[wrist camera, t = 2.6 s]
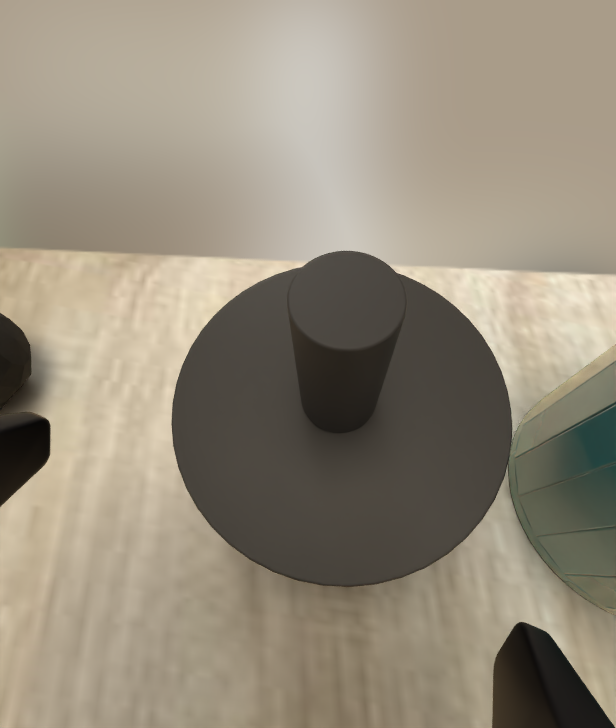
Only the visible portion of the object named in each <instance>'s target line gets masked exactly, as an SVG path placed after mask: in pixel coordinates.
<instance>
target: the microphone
mask: <svg viewBox="0 0 616 728" xmlns="http://www.w3.org/2000/svg"><path fill="white" fill-rule="evenodd" d="M30 375H31V351H30V344H29V342H28V340H27V338H26V337H25V335H24V333H23V331H22V330H21V329H20V328H19V327H18V326H17V325H16V324H14V323H13V322H12V321H11V320H10V319H9V318H7V317H6V316H4V315H2V314H1V313H0V410H1V409H2V408H3V407H4V405H5V404H6V403H7V402H8V401H9V399H10V398H11V397H12V396H13V394H14V393H15V392H16V391H17V390H18V389H19V388H20V387H21V386H22V385H23V383H24V382H25V381H26V380H27V379H28V377H29V376H30Z"/></svg>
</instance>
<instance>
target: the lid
mask: <svg viewBox="0 0 616 728" xmlns="http://www.w3.org/2000/svg"><path fill="white" fill-rule="evenodd" d="M172 434H173V446H174V450H175V455H176V459H177V463H178V467H179V470H180V473H181V475H182V478H183V481H184V483H185V486H186V488H187V490H188V492H189V494H190V496H191V497H192V499H193V501H194V503H195V504H196V506H197V508H198V510H199V511H200V512H201V513H202V515H203V516H204V517H205V519H206V520H207V521H208V523H209V524H210V525H211V527H212V528H213V529H214V530H215V531H216V532H217V533H218V534H219V535H220V536H221V537H222V538H223V539H224V540H225V541H226V542H227V543H228V544H230V545H231V546H232V547H234V548H235V549H236V550H238V551H239V552H240V553H242V554H243V555H244V556H246V557H247V558H249V559H250V560H252V561H254V562H255V563H257V564H259V565H261V566H263V567H265V568H267V569H269V570H271V571H272V572H275V573H278V574H281V575H284V576H286V577H289V578H292V579H295V580H298V581H303V582H308V583H313V584H318V585H323V586H342V587H354V586H364V585H374V584H379V583H383V582H387V581H391V580H395V579H399V578H402V577H405V576H407V575H409V574H412V573H414V572H416V571H419V570H421V569H424V568H426V567H427V566H429V565H431V564H432V563H434V562H436V561H437V560H439V559H440V558H442V557H444V556H445V555H447V554H448V553H449V552H450V551H452V550H453V549H454V548H455V547H456V546H458V545H459V544H460V543H461V542H462V541H463V540H465V539H466V538H467V537H468V535H469V534H470V533H471V532H472V531H473V530H474V528H475V527H476V526H477V525H478V524H479V523H480V522H481V520H482V519H483V517H484V516H485V514H486V513H487V511H488V509H489V508H490V506H491V505H492V503H493V501H494V500H495V498H496V495H497V493H498V491H499V488H500V486H501V484H502V481H503V479H504V476H505V472H506V468H507V464H508V460H509V457H510V448H511V439H512V419H511V408H510V402H509V396H508V391H507V388H506V385H505V381H504V378H503V375H502V372H501V370H500V367H499V365H498V363H497V361H496V359H495V357H494V355H493V353H492V351H491V349H490V348H489V346H488V345H487V343H486V341H485V340H484V338H483V337H482V335H481V334H480V333H479V331H478V330H477V329H476V328H475V327H474V325H473V324H472V323H471V322H470V320H469V319H468V318H467V317H466V316H465V315H463V314H462V313H461V312H460V311H459V310H458V309H457V308H456V307H455V306H454V305H453V304H451V303H450V302H449V301H447V300H446V299H445V298H444V297H442V296H441V295H440V294H438V293H436V292H435V291H433V290H431V289H430V288H428V287H426V286H425V285H423V284H421V283H419V282H417V281H415V280H413V279H410V278H408V277H406V276H404V275H401V274H398V273H396V272H395V271H394V270H393V269H392V268H391V267H390V266H389V265H387V264H386V263H385V262H383V261H381V260H380V259H378V258H376V257H374V256H371V255H368V254H365V253H361V252H355V251H338V252H332V253H328V254H324V255H322V256H319V257H317V258H315V259H313V260H311V261H310V262H308V263H307V264H306V265H304V266H303V267H301V268H296V269H292V270H289V271H286V272H283V273H279V274H276V275H274V276H272V277H269V278H267V279H265V280H263V281H260V282H258V283H257V284H255V285H253V286H252V287H250V288H248V289H246V290H245V291H243V292H242V293H240V294H239V295H238V296H236V297H235V298H234V299H232V300H231V301H229V302H228V303H227V304H226V305H225V306H224V307H223V308H222V309H221V310H220V311H219V312H217V313H216V314H215V315H214V316H213V318H212V319H211V320H210V321H209V322H208V324H207V325H206V326H205V327H204V328H203V330H202V331H201V332H200V334H199V336H198V337H197V339H196V340H195V342H194V343H193V345H192V346H191V348H190V350H189V353H188V355H187V357H186V359H185V361H184V363H183V365H182V368H181V371H180V374H179V377H178V380H177V384H176V389H175V394H174V399H173V408H172Z"/></svg>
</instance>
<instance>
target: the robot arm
mask: <svg viewBox="0 0 616 728" xmlns="http://www.w3.org/2000/svg"><path fill="white" fill-rule="evenodd" d="M49 456H50V423H49V421H48V420H47V419H46V418H44V417H42V416H39V415H37V414H35V413H31V412H21V413H13V414H5V415H0V506H1V505H2V504H4V503H5V502H6V501H7V500H8V499H9V498H10V497H11V496H12V495H13V494H14V493H15V492H16V491H17V490H18V489H20V488H21V487H22V486H23V485H24V484H25V483H26V482H27V481H28V480H29V479H30V478H31V477H32V476H33V475H34V474H36V473H37V472H38V471H39V470H40V469H41V468H42V467H43V466H44V465H45V463H46V462H47V460H48V459H49ZM492 728H615V727H614V725H613V724H612V722H611V721H610V720H609V718H608V717H607V715H606V714H605V712H604V711H603V710H602V708H601V707H600V705H599V704H598V703H597V701H596V700H595V698H594V697H593V695H592V694H591V693H590V691H589V690H588V688H587V687H586V685H585V684H584V683H583V681H582V680H581V678H580V677H579V675H578V674H577V673H576V671H575V670H574V668H573V667H572V665H571V664H570V663H569V661H568V660H567V658H566V657H565V656H564V654H563V653H562V651H561V650H560V648H559V647H558V646H557V644H556V643H555V641H554V640H553V638H552V637H551V636H550V635H549V634H548V633H547V632H545V631H543V630H541V629H539V628H536V627H534V626H532V625H529V624H527V623H524V622H519V623H517V624H516V625H515V626H514V628H513V629H512V631H511V633H510V634H509V636H508V637H507V639H506V641H505V642H504V644H503V645H502V647H501V649H500V650H499V652H498V654H497V656H496V659H495V663H494V673H493V717H492Z"/></svg>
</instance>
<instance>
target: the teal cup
mask: <svg viewBox="0 0 616 728" xmlns="http://www.w3.org/2000/svg"><path fill="white" fill-rule="evenodd" d="M509 483H510V489H511V496H512V499H513V502H514V506H515V509H516V512H517V515H518V517H519V520H520V522H521V524H522V527H523V529H524V530H525V532H526V534H527V536H528V538H529V539H530V541H531V543H532V545H533V546H534V547H535V549H536V550H537V552H538V553H539V554H540V556H541V557H542V559H543V560H544V561H545V562H546V563H547V565H548V566H549V567H550V568H551V569H552V570H553V571H554V573H555V574H556V575H557V576H559V577H560V578H561V579H562V580H563V581H564V582H565V583H566V584H567V585H568V586H569V587H570V588H572V589H573V590H574V591H576V592H577V593H578V594H580V595H581V596H582V597H583V598H585V599H586V600H588V601H589V602H591V603H593V604H594V605H596V606H598V607H599V608H601V609H603V610H605V611H607V612H609V613H611V614H613V615H616V344H615V345H614V346H612V347H611V348H610V349H608V350H607V351H606V352H604V353H603V354H602V355H600V356H599V357H598V358H596V359H595V360H594V361H592V362H591V363H590V364H588V365H587V366H586V367H584V368H583V369H582V370H580V371H579V372H578V373H576V374H575V375H574V376H572V377H571V378H570V379H568V380H567V381H566V382H564V383H563V384H562V385H560V386H559V387H558V388H556V389H555V390H554V391H552V392H551V393H550V394H548V395H547V396H546V397H544V398H543V399H542V400H541V401H540V402H539V403H538V404H537V405H536V406H535V407H533V408H532V410H531V411H530V412H529V413H528V414H527V415H526V416H525V418H524V419H523V421H522V422H521V424H520V425H519V427H518V429H517V432H516V434H515V436H514V438H513V442H512V446H511V450H510V457H509Z"/></svg>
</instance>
